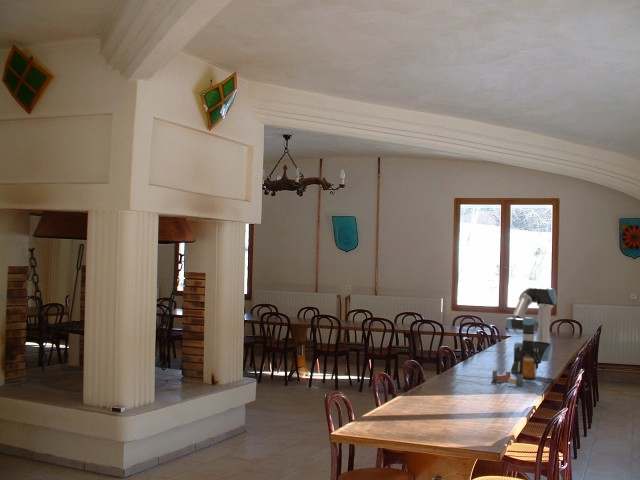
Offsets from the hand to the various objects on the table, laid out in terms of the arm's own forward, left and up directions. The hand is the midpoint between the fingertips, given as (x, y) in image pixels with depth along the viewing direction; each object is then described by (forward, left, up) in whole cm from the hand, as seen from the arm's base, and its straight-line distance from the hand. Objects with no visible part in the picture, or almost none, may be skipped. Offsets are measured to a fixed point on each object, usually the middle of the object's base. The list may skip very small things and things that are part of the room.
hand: (527, 372), depth 479 cm
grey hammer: (+22, +1, -6) cm, 23 cm away
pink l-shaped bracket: (+13, -12, -6) cm, 19 cm away
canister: (0, 0, -5) cm, 5 cm away
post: (+22, -14, -6) cm, 27 cm away
